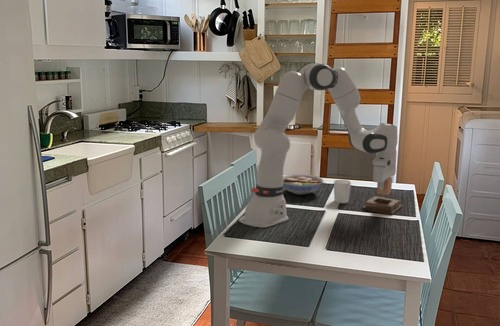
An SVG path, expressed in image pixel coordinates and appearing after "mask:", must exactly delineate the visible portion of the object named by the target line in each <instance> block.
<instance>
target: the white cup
mask: <svg viewBox="0 0 500 326" xmlns="http://www.w3.org/2000/svg"><path fill="white" fill-rule="evenodd" d="M351 184H352V182H351V181H350V180H347V179H335V180H334V181H333V195H334V197H333V198H334V199H333V201H334V203H337V204H347V203H349V199H350V192H351Z"/></svg>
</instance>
